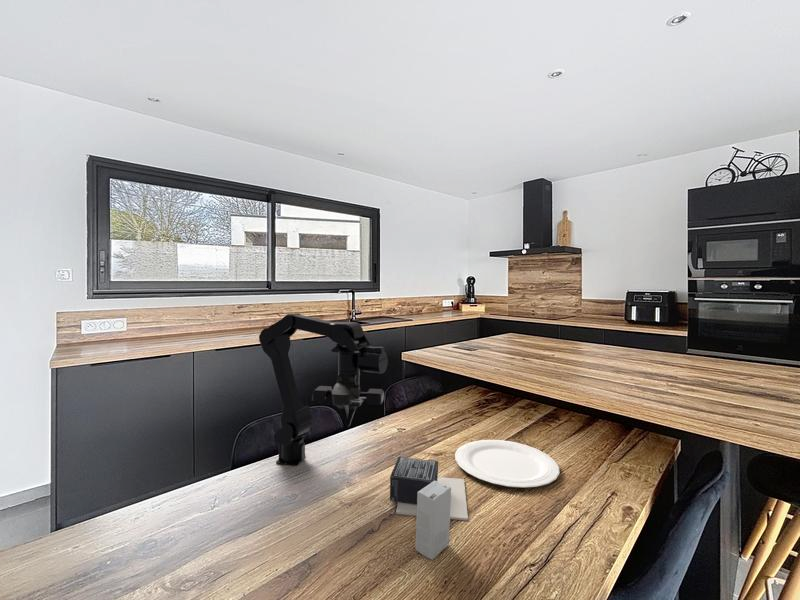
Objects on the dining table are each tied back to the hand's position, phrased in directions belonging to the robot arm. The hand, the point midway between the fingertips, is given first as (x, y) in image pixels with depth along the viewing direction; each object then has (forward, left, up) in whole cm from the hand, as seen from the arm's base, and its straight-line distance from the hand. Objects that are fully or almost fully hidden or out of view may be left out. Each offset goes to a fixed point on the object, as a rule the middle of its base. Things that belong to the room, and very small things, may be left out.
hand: (348, 426), depth 102 cm
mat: (+23, -8, -13) cm, 28 cm away
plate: (+44, +12, -14) cm, 48 cm away
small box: (+14, -7, -9) cm, 18 cm away
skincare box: (+24, -26, -13) cm, 38 cm away
